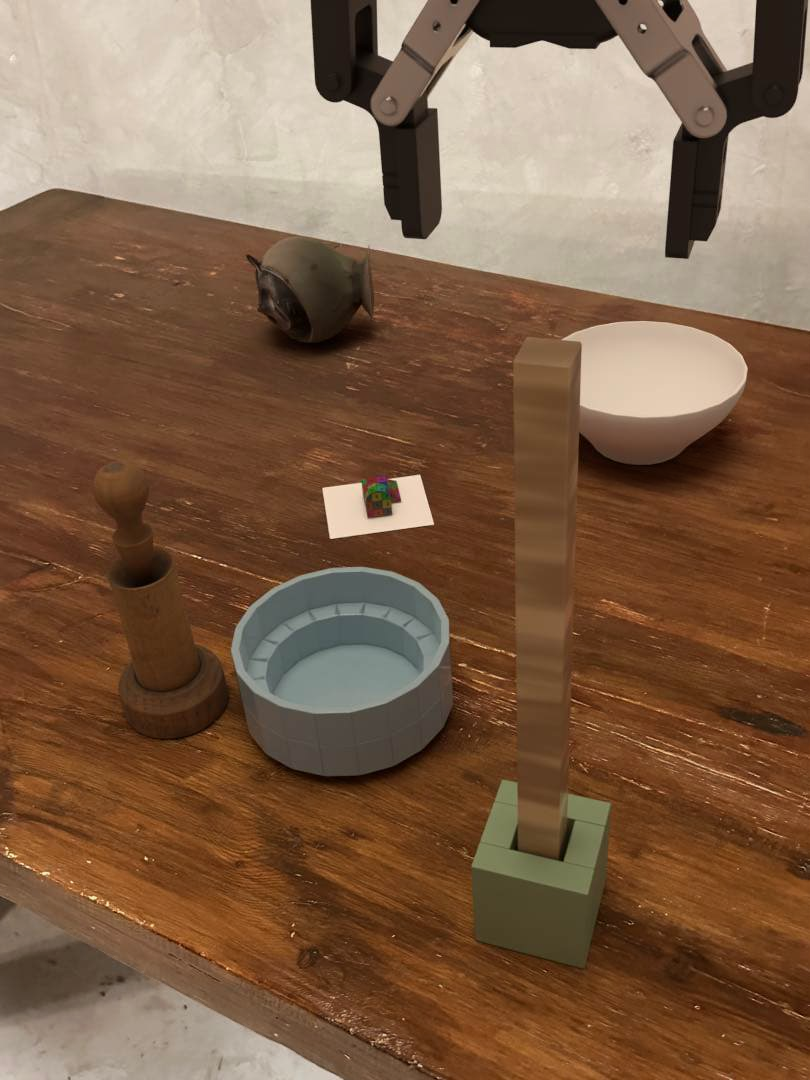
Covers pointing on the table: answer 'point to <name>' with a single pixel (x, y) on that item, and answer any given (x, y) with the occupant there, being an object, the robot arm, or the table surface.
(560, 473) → the stick
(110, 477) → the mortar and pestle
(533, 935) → the stick holder
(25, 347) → the table surface
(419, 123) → the robot arm
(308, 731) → the light blue round container
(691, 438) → the bowl
